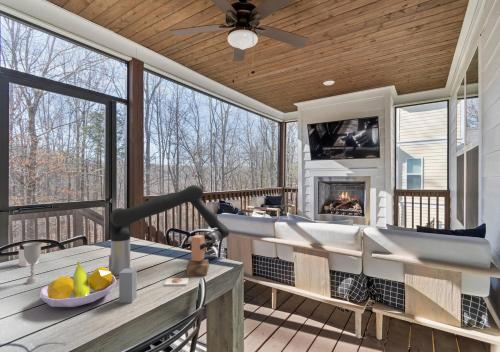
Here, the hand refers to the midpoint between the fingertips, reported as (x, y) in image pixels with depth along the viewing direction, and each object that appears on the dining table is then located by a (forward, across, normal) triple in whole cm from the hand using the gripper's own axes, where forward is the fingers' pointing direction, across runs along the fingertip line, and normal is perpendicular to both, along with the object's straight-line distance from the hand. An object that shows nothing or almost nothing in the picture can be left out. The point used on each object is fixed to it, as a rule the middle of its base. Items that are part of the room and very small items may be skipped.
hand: (195, 247), depth 140 cm
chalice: (+33, -68, +14) cm, 77 cm away
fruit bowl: (+39, -32, +14) cm, 52 cm away
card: (+13, -3, +14) cm, 19 cm away
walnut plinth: (-3, 0, +14) cm, 14 cm away
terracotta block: (-3, 0, +7) cm, 7 cm away
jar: (+15, -97, +14) cm, 99 cm away
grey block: (+35, -12, +14) cm, 39 cm away
